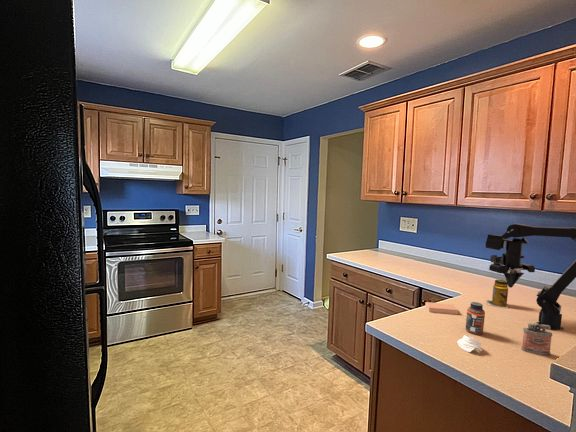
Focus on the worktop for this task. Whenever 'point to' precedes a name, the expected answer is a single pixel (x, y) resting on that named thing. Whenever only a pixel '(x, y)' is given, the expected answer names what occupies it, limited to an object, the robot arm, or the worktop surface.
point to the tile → (441, 308)
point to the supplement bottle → (475, 318)
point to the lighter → (537, 339)
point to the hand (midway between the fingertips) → (510, 287)
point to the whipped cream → (469, 343)
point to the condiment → (499, 294)
